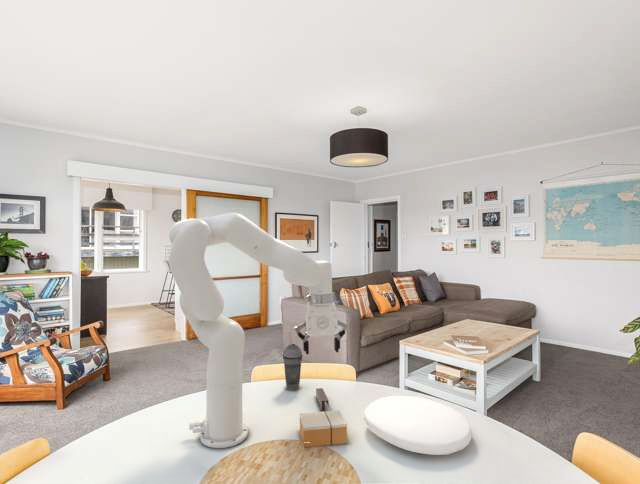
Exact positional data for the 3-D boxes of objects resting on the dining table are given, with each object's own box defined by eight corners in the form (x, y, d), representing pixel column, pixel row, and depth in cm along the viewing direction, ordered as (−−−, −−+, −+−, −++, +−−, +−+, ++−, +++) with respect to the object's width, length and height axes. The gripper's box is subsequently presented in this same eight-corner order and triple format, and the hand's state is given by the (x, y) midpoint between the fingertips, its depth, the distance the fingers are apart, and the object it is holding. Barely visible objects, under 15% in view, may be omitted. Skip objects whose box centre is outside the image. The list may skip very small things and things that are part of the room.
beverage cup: (295, 393, 128) (294, 335, 129) (278, 389, 132) (278, 332, 132) (306, 386, 134) (306, 331, 135) (290, 382, 138) (290, 329, 139)
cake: (304, 447, 94) (303, 427, 94) (299, 431, 102) (299, 413, 102) (330, 444, 95) (330, 425, 96) (324, 429, 103) (324, 411, 103)
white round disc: (476, 406, 107) (467, 453, 83) (473, 428, 107) (465, 482, 83) (382, 379, 120) (352, 414, 96) (380, 399, 120) (349, 438, 96)
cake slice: (331, 444, 95) (331, 425, 96) (325, 429, 103) (325, 411, 103) (346, 443, 96) (346, 423, 96) (339, 428, 104) (339, 410, 104)
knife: (327, 424, 106) (327, 414, 106) (316, 397, 125) (316, 388, 125) (335, 424, 106) (335, 413, 106) (322, 396, 125) (322, 388, 125)
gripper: (295, 302, 114) (296, 357, 114) (349, 299, 116) (350, 354, 116) (292, 298, 121) (293, 350, 121) (344, 296, 124) (345, 347, 124)
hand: (321, 352), depth 119 cm, fingers open, 9 cm apart
